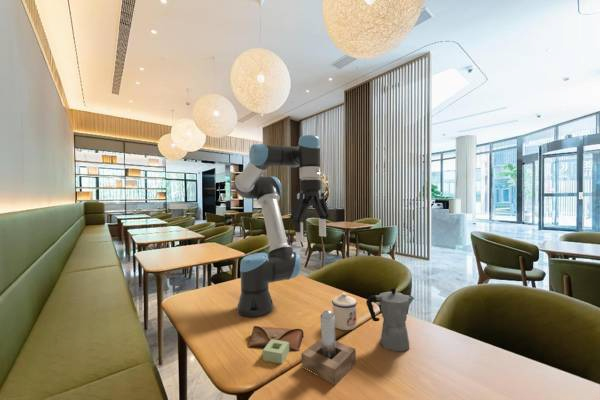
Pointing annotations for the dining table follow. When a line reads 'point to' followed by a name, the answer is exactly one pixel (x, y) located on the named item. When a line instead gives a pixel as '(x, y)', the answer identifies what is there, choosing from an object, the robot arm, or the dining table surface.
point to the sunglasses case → (275, 337)
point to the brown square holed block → (329, 361)
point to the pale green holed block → (276, 351)
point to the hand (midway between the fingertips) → (311, 238)
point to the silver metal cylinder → (328, 334)
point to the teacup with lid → (344, 312)
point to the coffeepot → (392, 318)
